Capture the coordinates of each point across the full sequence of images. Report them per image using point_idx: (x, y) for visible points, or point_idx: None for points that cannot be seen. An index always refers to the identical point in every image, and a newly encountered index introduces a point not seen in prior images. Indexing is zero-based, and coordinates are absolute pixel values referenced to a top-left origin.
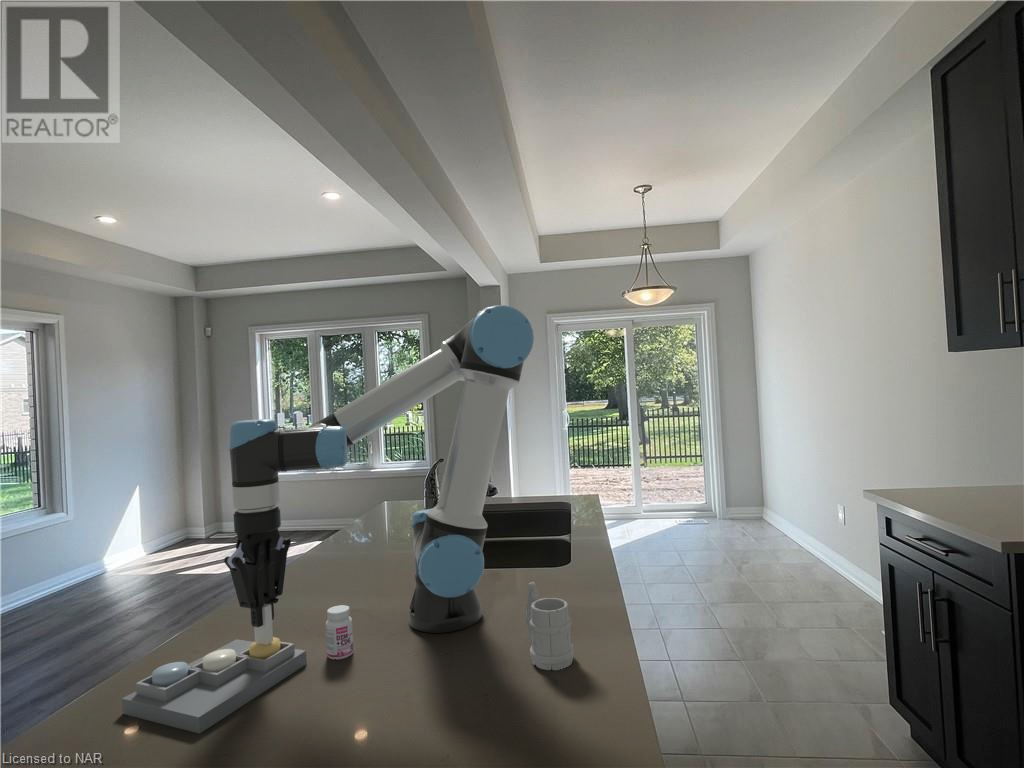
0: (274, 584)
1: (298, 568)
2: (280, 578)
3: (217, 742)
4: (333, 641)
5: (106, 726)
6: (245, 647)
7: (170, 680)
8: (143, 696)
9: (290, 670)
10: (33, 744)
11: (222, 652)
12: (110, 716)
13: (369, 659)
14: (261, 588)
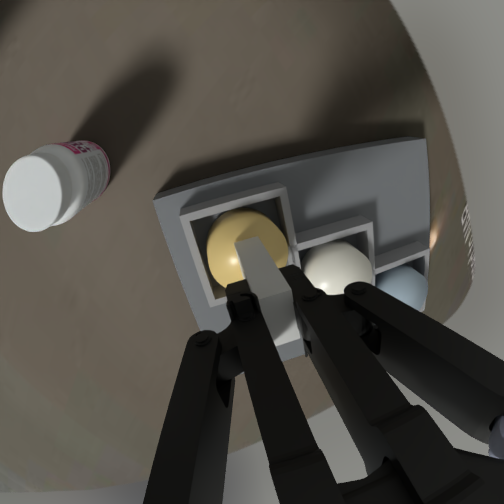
0: (243, 363)
1: (51, 484)
2: (200, 389)
3: (406, 89)
4: (93, 158)
5: (432, 276)
6: None
7: (415, 270)
8: None
9: (208, 179)
10: (461, 298)
11: (329, 293)
12: None
13: (64, 91)
14: (334, 340)
